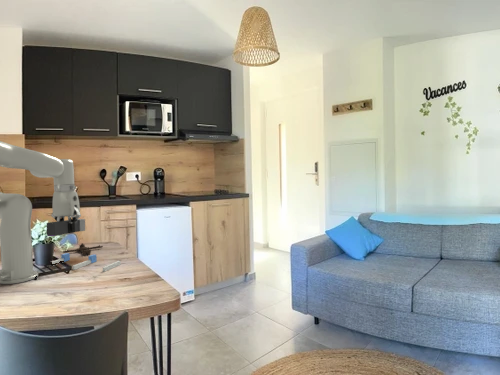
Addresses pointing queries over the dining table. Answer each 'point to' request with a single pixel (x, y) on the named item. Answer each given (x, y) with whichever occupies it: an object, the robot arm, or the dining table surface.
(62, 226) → the dark grey rectangular block
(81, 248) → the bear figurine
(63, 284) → the dining table surface
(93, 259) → the white blue-tipped sticks
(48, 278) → the dining table surface
